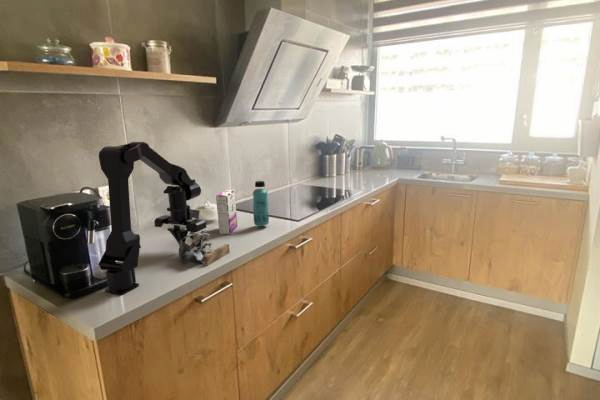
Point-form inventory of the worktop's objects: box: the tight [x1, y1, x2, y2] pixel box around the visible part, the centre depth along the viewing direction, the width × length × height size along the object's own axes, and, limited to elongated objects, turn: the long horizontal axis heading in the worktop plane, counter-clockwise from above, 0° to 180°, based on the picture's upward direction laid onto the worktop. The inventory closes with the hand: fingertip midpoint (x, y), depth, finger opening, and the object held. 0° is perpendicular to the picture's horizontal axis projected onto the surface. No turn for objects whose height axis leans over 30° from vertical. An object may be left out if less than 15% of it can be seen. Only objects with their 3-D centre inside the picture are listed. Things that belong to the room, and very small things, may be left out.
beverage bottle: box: [252, 180, 270, 227], centre depth 153 cm, size 6×7×20 cm
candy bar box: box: [215, 189, 238, 235], centre depth 150 cm, size 11×5×16 cm, turn 174°
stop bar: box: [203, 243, 230, 266], centre depth 121 cm, size 12×2×3 cm, turn 155°
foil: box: [178, 230, 214, 264], centre depth 123 cm, size 12×11×15 cm
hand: (182, 246), depth 127 cm, fingers closed
